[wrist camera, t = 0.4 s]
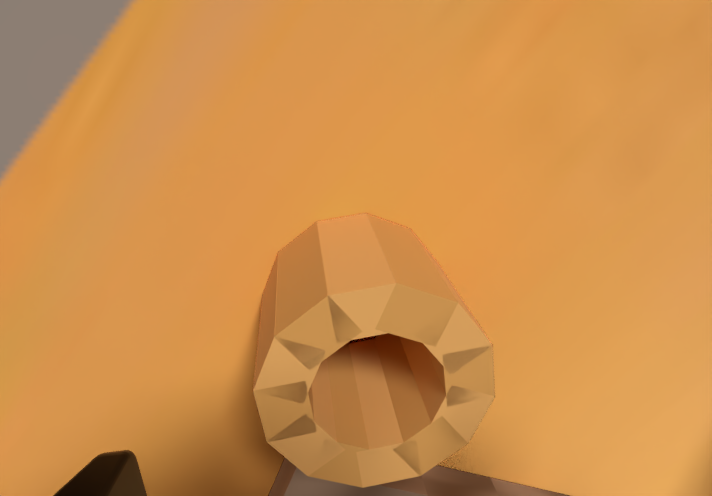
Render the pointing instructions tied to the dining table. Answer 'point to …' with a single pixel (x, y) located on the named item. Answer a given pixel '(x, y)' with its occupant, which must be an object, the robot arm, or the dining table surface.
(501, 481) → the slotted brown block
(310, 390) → the notched tan hollow cylinder
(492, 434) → the dining table surface
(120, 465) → the robot arm
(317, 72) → the dining table surface
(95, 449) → the dining table surface
